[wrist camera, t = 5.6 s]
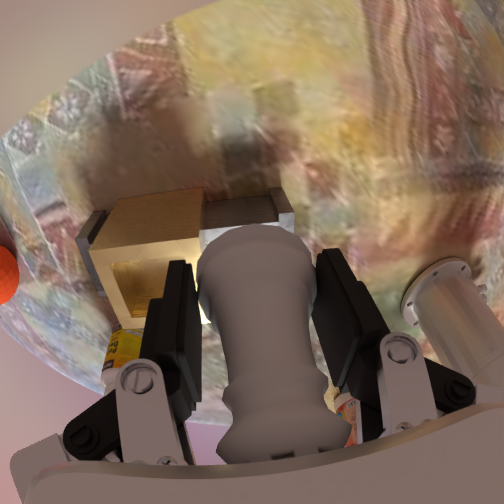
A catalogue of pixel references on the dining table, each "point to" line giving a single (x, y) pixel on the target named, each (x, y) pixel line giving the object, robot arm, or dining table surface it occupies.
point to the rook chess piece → (267, 345)
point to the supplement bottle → (120, 353)
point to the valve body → (163, 241)
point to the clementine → (8, 275)
